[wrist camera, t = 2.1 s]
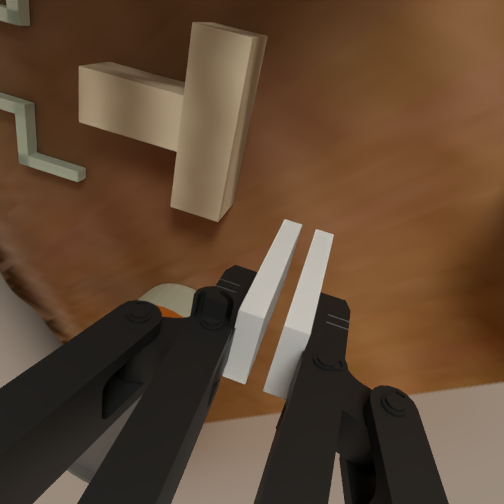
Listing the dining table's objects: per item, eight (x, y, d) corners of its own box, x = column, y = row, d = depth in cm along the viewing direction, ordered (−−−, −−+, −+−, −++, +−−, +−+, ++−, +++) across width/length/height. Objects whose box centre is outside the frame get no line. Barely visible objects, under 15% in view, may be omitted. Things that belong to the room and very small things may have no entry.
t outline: (87, -43, 30) (76, -46, 29) (85, 178, 39) (77, 182, 38) (-80, -84, 32) (-95, -88, 31) (-45, 136, 41) (-56, 139, 40)
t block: (267, 36, 30) (252, 37, 26) (233, 203, 36) (217, 222, 33) (111, -5, 31) (78, -8, 28) (106, 163, 38) (79, 177, 34)
